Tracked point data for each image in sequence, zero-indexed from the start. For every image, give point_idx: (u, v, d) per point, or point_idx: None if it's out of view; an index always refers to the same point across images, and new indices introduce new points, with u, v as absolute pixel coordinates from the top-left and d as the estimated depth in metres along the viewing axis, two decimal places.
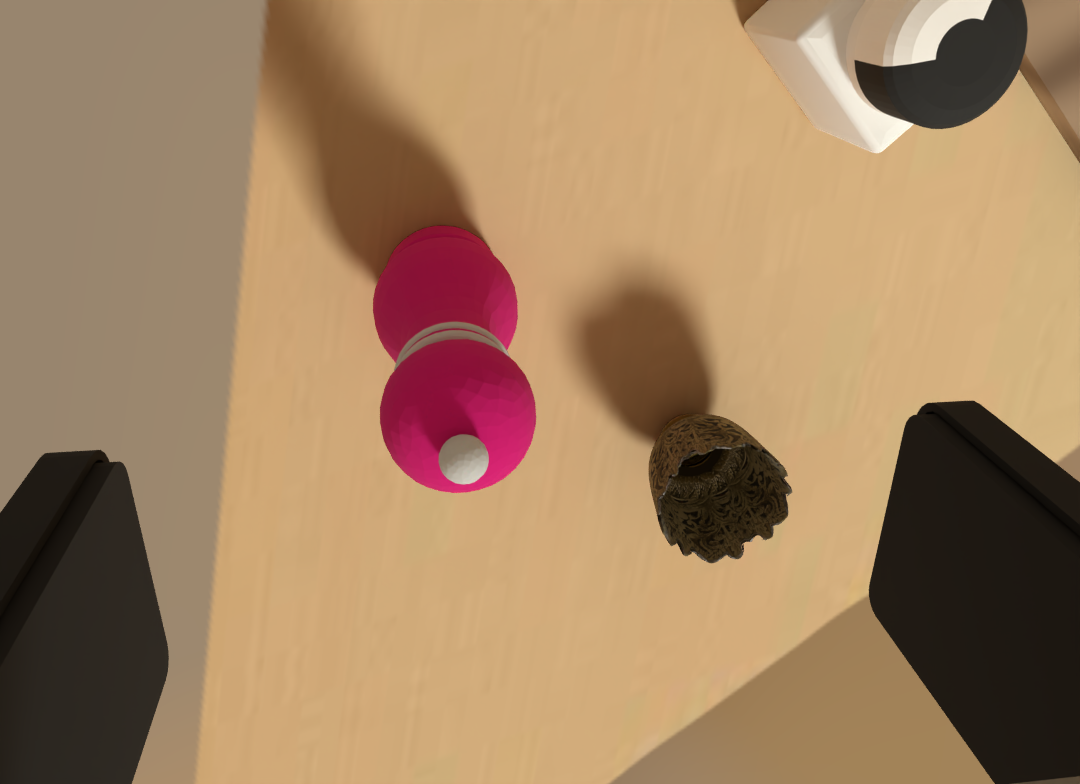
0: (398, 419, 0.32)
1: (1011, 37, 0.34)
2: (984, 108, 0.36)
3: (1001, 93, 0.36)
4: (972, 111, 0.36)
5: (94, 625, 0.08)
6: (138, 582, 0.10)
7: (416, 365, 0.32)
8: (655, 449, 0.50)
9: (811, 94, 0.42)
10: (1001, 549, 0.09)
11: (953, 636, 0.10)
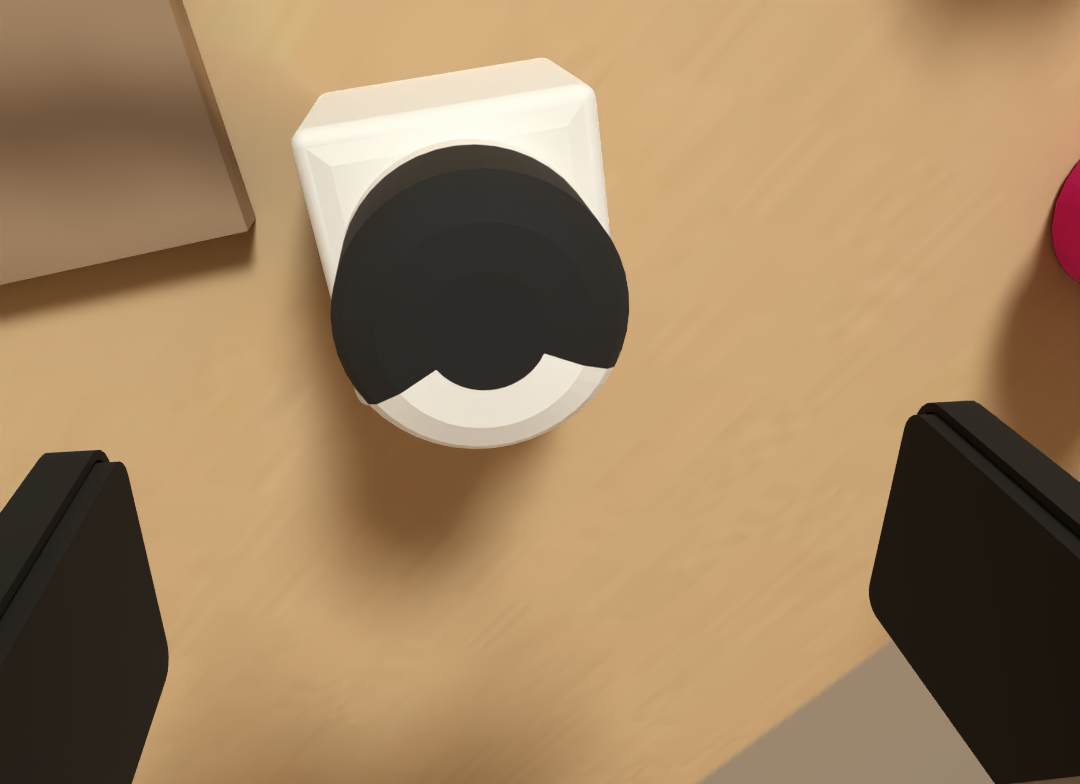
0: None
1: (389, 306, 0.17)
2: (477, 190, 0.16)
3: (432, 198, 0.16)
4: (506, 204, 0.16)
5: (94, 623, 0.08)
6: (138, 582, 0.10)
7: None
8: None
9: None
10: (1000, 549, 0.09)
11: (953, 636, 0.10)
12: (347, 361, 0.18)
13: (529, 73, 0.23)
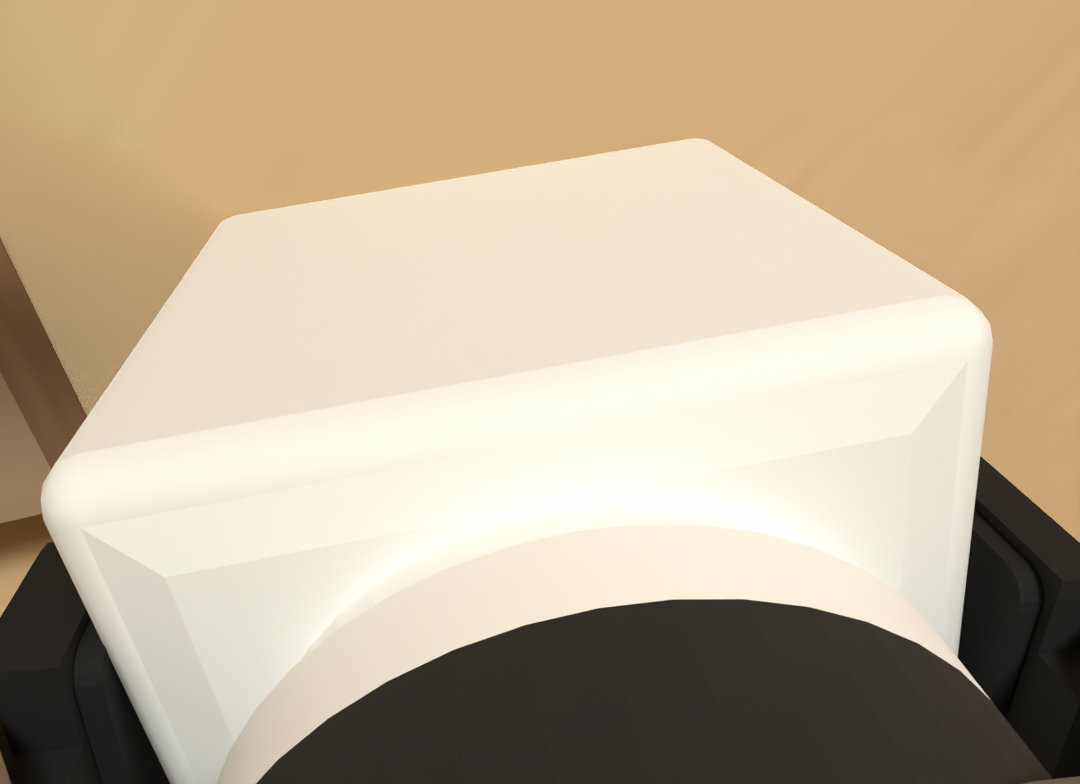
0: None
1: None
2: None
3: None
4: None
5: None
6: None
7: None
8: None
9: None
10: None
11: None
12: None
13: (713, 204, 0.09)
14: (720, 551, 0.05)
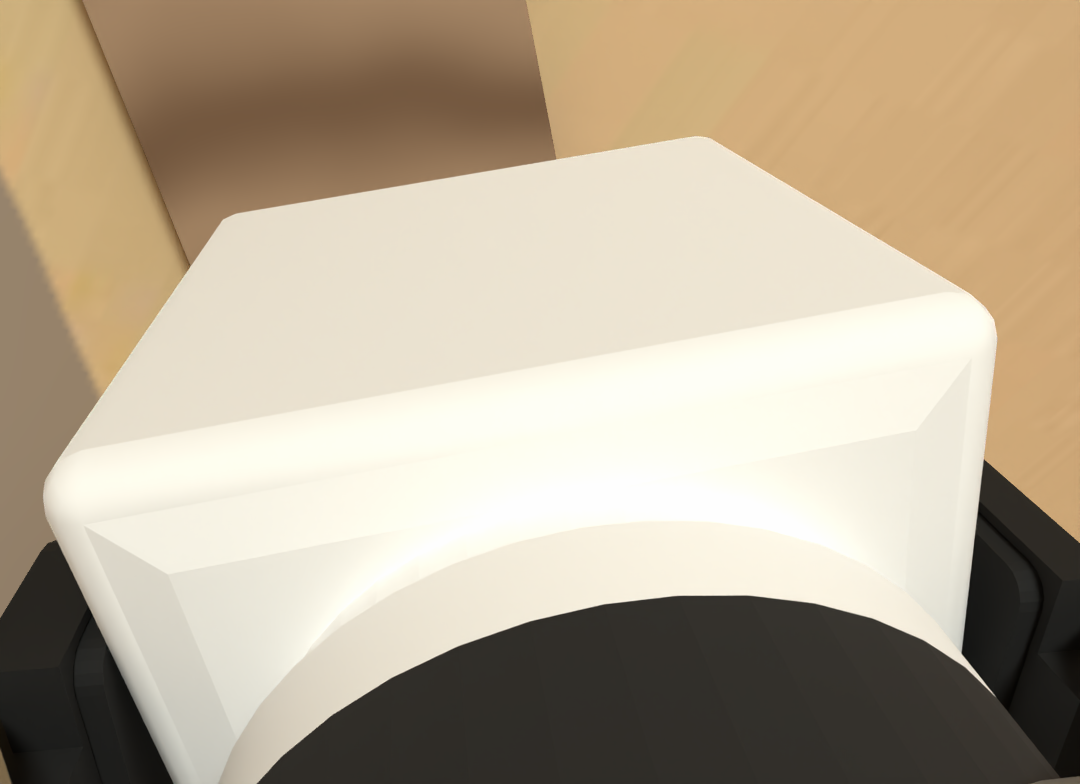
0: None
1: None
2: None
3: None
4: None
5: None
6: None
7: None
8: None
9: None
10: None
11: None
12: None
13: (715, 202, 0.09)
14: (725, 548, 0.05)
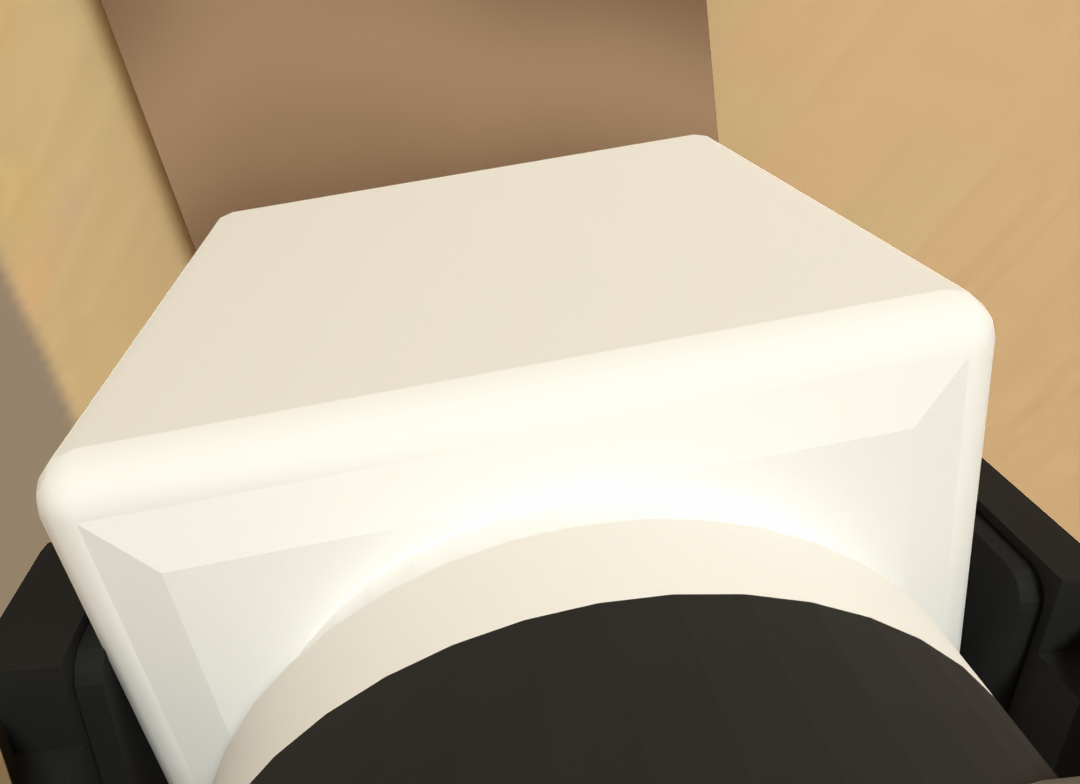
0: None
1: None
2: None
3: None
4: None
5: None
6: None
7: None
8: None
9: None
10: None
11: None
12: None
13: (713, 200, 0.09)
14: (721, 546, 0.05)
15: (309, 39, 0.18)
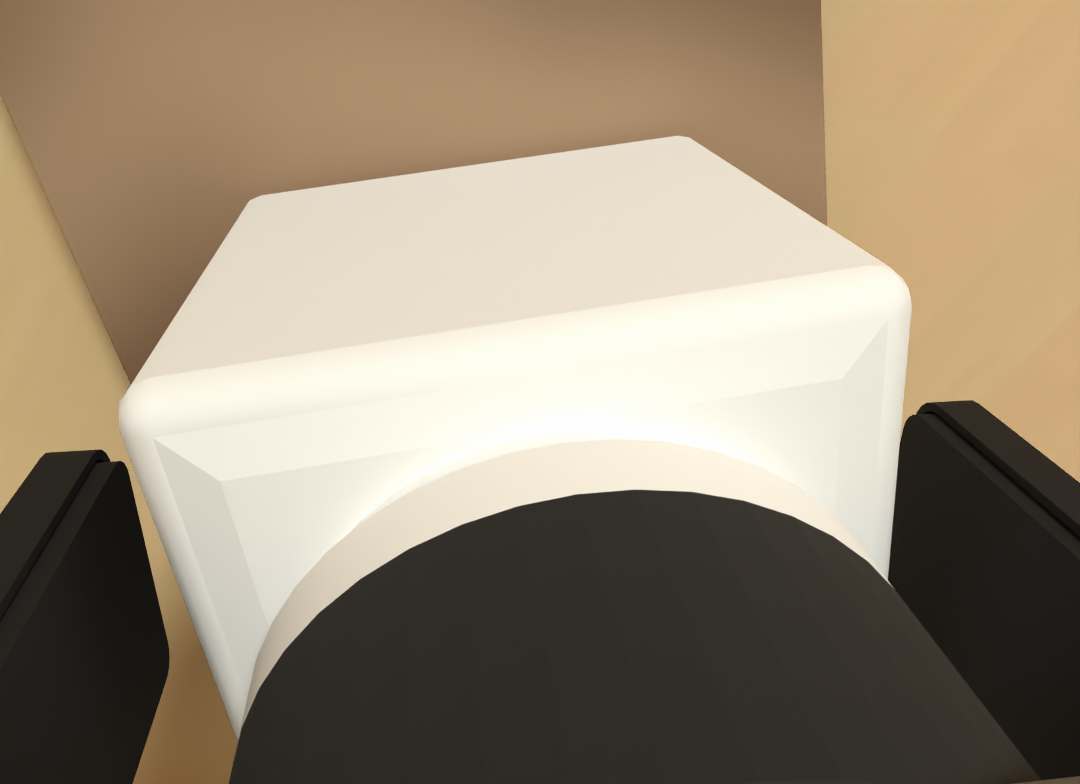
0: None
1: None
2: None
3: None
4: None
5: (94, 624, 0.08)
6: (139, 581, 0.10)
7: None
8: None
9: None
10: (1000, 549, 0.09)
11: (952, 636, 0.10)
12: None
13: (688, 192, 0.11)
14: (676, 460, 0.07)
15: (267, 65, 0.13)
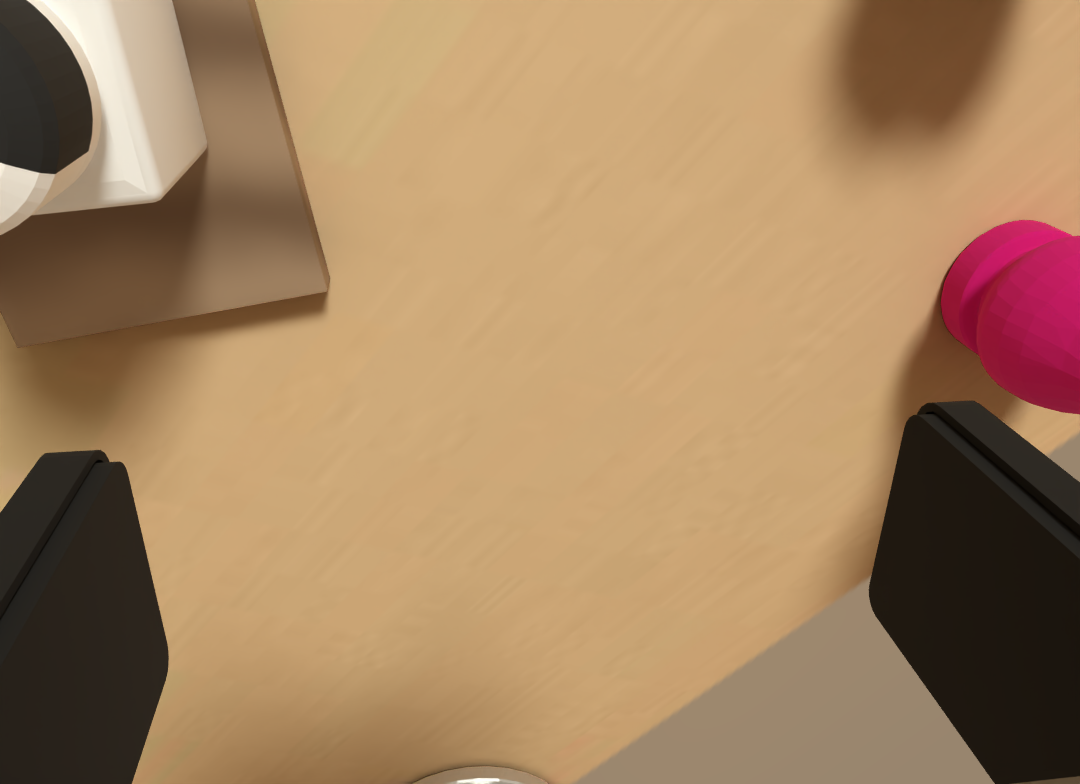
0: None
1: None
2: None
3: None
4: None
5: (94, 624, 0.08)
6: (138, 582, 0.10)
7: None
8: None
9: (155, 48, 0.26)
10: (1001, 549, 0.09)
11: (953, 636, 0.10)
12: None
13: None
14: None
15: None
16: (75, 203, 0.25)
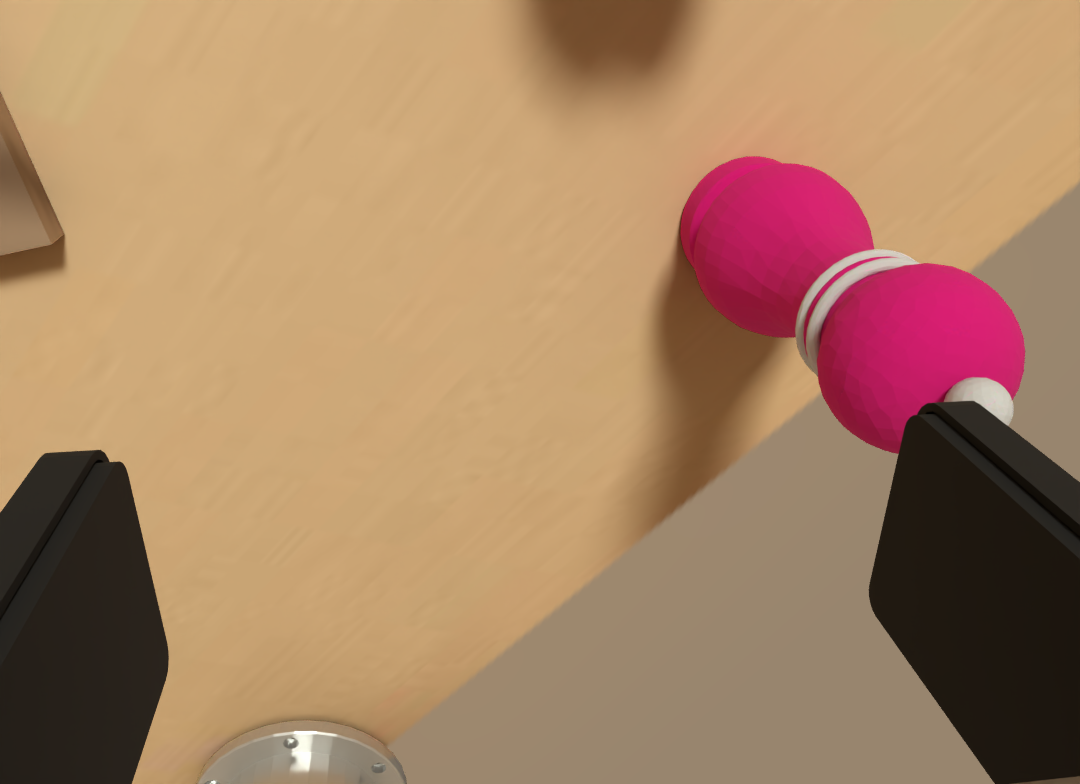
0: None
1: None
2: None
3: None
4: None
5: (94, 625, 0.08)
6: (138, 582, 0.10)
7: None
8: None
9: None
10: (1001, 549, 0.09)
11: (953, 636, 0.10)
12: None
13: None
14: None
15: None
16: None
